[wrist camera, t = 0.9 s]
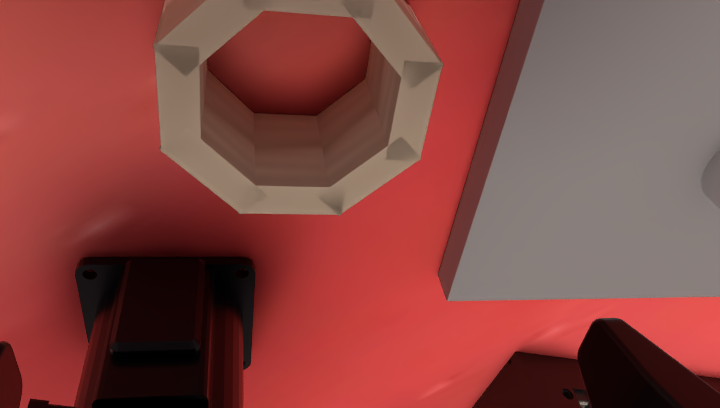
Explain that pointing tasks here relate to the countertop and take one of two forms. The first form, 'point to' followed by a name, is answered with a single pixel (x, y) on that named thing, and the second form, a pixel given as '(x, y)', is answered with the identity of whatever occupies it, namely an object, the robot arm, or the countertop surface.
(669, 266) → the post board
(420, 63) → the ring
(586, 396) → the wireless controller
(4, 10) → the countertop surface
